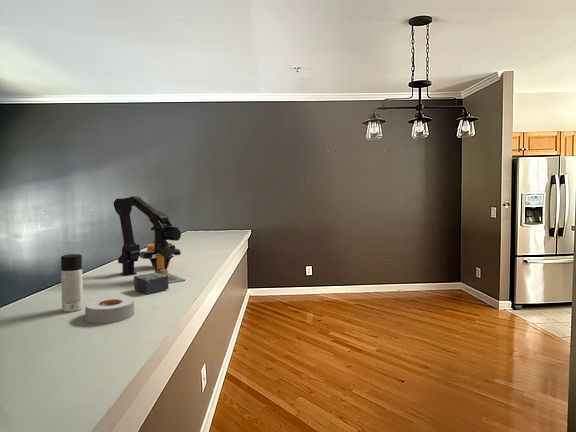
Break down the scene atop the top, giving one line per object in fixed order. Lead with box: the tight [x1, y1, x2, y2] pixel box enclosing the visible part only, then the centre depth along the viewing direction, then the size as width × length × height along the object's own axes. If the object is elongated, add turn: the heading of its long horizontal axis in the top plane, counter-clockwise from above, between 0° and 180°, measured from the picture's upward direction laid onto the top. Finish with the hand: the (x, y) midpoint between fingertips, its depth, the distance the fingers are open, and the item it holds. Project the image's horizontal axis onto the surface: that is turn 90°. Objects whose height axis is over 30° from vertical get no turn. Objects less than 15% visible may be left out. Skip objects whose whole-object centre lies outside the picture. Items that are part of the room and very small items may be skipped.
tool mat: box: [168, 272, 186, 285], centre depth 183 cm, size 22×13×1 cm, turn 43°
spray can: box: [60, 253, 84, 313], centre depth 134 cm, size 7×7×20 cm
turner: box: [154, 267, 176, 281], centre depth 182 cm, size 14×7×4 cm, turn 43°
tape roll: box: [84, 296, 135, 325], centre depth 129 cm, size 15×15×5 cm
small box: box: [133, 272, 170, 295], centre depth 162 cm, size 11×6×10 cm
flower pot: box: [146, 242, 174, 269], centre depth 210 cm, size 14×14×13 cm
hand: (160, 270), depth 184 cm, fingers open, 5 cm apart
